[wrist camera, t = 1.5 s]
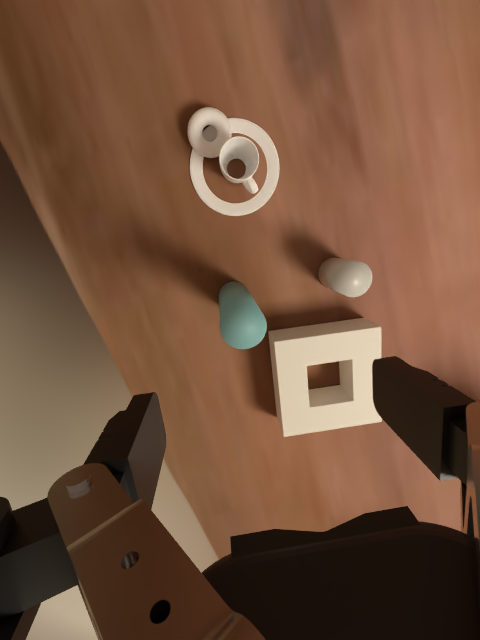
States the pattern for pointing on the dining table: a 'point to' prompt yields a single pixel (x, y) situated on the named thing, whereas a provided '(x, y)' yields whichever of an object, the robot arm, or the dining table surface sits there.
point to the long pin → (240, 317)
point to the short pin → (345, 276)
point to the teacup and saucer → (230, 157)
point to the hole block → (334, 401)
